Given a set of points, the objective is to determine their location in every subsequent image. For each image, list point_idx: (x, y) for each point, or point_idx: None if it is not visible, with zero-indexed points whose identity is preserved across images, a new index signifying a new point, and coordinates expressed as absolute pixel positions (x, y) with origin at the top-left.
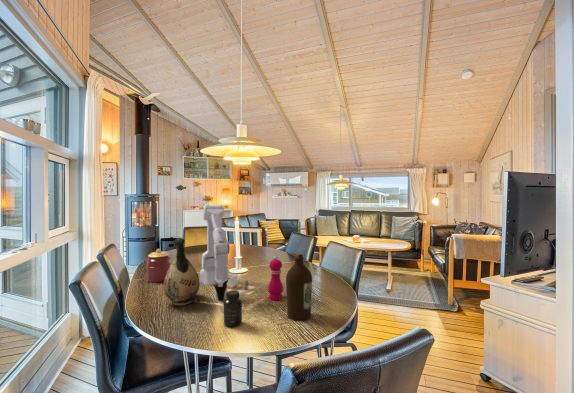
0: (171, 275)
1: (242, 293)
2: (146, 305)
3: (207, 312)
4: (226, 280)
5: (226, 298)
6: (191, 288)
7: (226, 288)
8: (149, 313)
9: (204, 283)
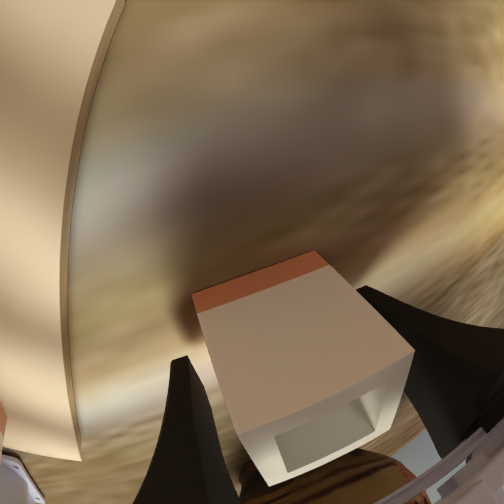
0: None
1: (67, 122)
2: None
3: (455, 291)
4: (501, 455)
5: (337, 275)
6: None
7: (386, 371)
8: (387, 446)
9: (28, 501)
